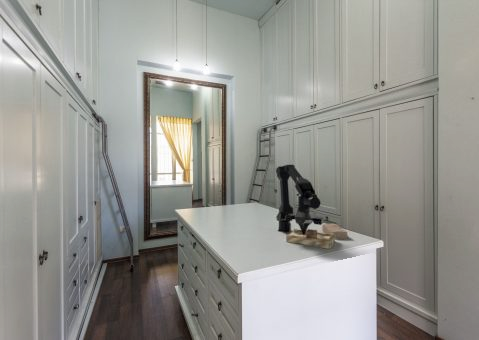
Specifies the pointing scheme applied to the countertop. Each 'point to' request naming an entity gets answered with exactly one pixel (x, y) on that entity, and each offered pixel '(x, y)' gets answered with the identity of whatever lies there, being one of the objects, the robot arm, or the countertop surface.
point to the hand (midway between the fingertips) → (303, 235)
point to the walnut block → (311, 233)
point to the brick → (334, 231)
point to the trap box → (321, 241)
